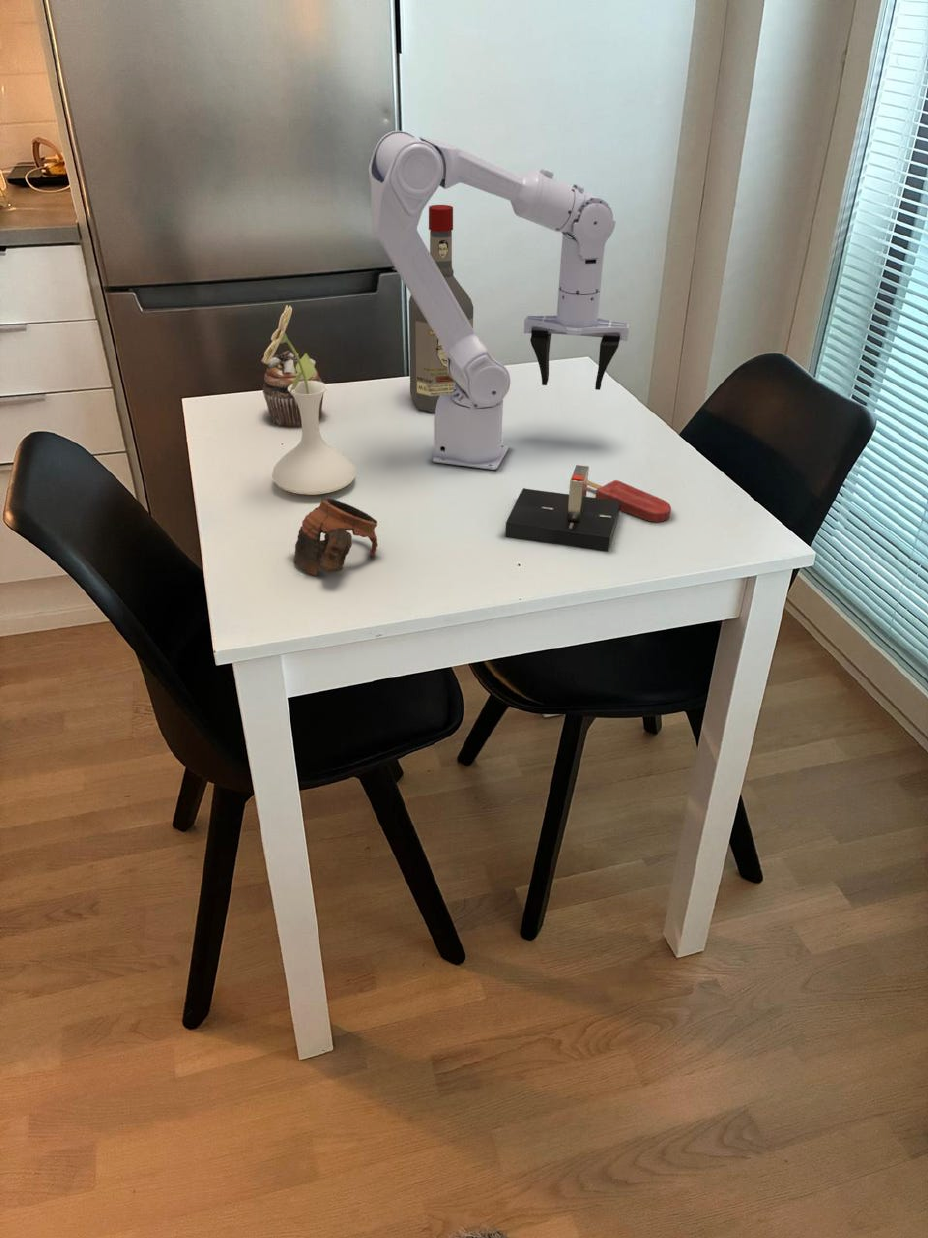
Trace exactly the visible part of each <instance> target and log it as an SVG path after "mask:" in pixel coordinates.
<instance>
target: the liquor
mask: <svg viewBox="0 0 928 1238" xmlns="http://www.w3.org/2000/svg"><path fill="white" fill-rule="evenodd" d="M428 230H429V231H430V232H429V233H430V234H429V244H430V245H429V252H430V254H431V256H432V258H433V260H434V261H435V263H436V265H437V267H438V268H439V270H440V272H441V274H442V275H443V277H444V279H445V281H446V282H447V284H448V286H449V288H450V289H451V291H452V293H453V295H454V296H455V298H456V300H457V302H458V304H459V305H460V307H461V309H462V311H463V312H464V314H465V316H466V318H467V319H468V321H469V323H470V325H471V326H472V328H473V329H474V305H473V301H472V299H471V297H470V296H469V295H468V293H467V292H466V290H465V289H464V288H463V286H462V285H461V283H460V282H459V281H458V280H457V278H456V277H455V276H454V269H453V231H454V206H453V205H448V204H431V205H429V206H428ZM408 343H409V344H408V345H409V347H408V348H409V349H408V350H409V351H408V353H409V393H410V396H411V398H412V400H413V401H414V403H415V405H416V407H417V409H418V410H420V411H423V412H427V413H431V414H432V413H433V414H435V409H436V404H437V401H438V399H439V397H440V395H442V394H452V393H453V389H454V386H455V381H453V379H452V378H451V377H450V375H449V373H448V369H447V359H446V356H445V354H444V352H443V351H442V348H441V343H440V342H439V340H438V338H437V337H436V335H435V333H434V332H433V330H432V328H431V327H430V325H429V323H428V322H427V320H426V318H425V317H424V315H423V313H422V312H421V310H420V308H419V307H418V305H417V303H416V302H415V300H414V298H413V297H412V295H411V294H410V296H409V298H408Z"/></svg>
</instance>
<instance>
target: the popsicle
mask: <svg viewBox="0 0 928 1238" xmlns="http://www.w3.org/2000/svg"><path fill="white" fill-rule="evenodd" d="M587 486H588V487H591V488H594V489H596V490H595V497H594V498H599V499H607V500H614V501H620V510H619V511H621V512H622V513H623V512H624V513H626V514H629V515H631V516H634V517H636V518H638V519H641V520H644V521H647V522H653V523H654V522H655V523H659V522H665V521H667V520H668V519H669V518H670V516H671V510H672V506H671V504H670V503H669V502H667V501H666V500H664V499H662V498H659V497H658V496H655V495H652V494H651V493H648V492H646V491H643V490H641V489H639V488H636V487H635V486H632V485H630V484H627V483H626V482H623V481H620V480H618V479H613V480H612V481H610V482H608V483H606V484H604V485H601V484H599V483H596V482H593V481H591V480H588V482H587Z"/></svg>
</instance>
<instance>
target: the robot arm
mask: <svg viewBox="0 0 928 1238" xmlns="http://www.w3.org/2000/svg"><path fill="white" fill-rule="evenodd" d="M418 138H419V139H417V138H416V137H415V135H412V134H411V133H408V132H407V131H404V130H393V131H390V132H387V133H386V134H385V135H383V136H382V137H381V138H380V139H379V140H378V142H377V144H376V145H375V147H374V150H373V154H372V156H371V160H370V163H369V166H368V169H367V171H368V175H369V181H370V192H371V194H370V196H371V227H372V230H373V233H374V235H375V236H376V238H377V241H378V242H379V243H380V245H381V247H382V248H383V250H384V252H385V254H386V255H387V257H388V259H389V260H390V262H391V263H392V265H393V267H394V269H395V270H396V271H397V273H398V275H399V277H400V278H401V280H402V282H403V283H404V285H405V287H406V289H407V290H408V292H409V293H410V296H411V295H412V297H413V298H414V300H415V302H416V303H417V305H418V307H419V308H420V310H421V312H422V313H423V315H424V317H425V318H426V320H427V322H428V323H429V325H430V327H431V328H432V330H433V332H434V333H435V335H436V337H437V338H438V340H439V342H440V343H441V348H442V351H443V352H444V354H445V356H446V359H447V369H448V373H449V375H450V377H451V378H452V379H453V381H455V386H454V389H453V393H452V394H442V395H440V397H439V399H438V401H437V404H436V409H435V413H434V420H433V421H434V423H433V425H434V426H433V429H434V431H433V433H434V434H433V436H434V437H433V439H434V440H433V441H434V443H433V446H434V447H433V448H434V450H433V451H434V453H433V454H434V455H433V458H432V462H433V463H438V464H445V465H451V466H452V465H453V466H462V467H468V468H476V469H485V470H490V471H491V470H492V471H496V470H497V469H498V468H499V466H500V465H501V463H502V461H503V459H504V458H505V455H506V454H507V453H508V450H509V446H508V445H506V444H502V435H503V412H504V411H503V408H504V398H505V397H506V396H507V394H508V392H509V390H510V387H511V375H510V373H509V370H508V369H507V367H506V366H505V365H504V364H502V363H500V362H499V361H498V360H496V359H495V358H494V357H493V356H492V355H491V353H490V351H489V350H488V348H487V347H486V345H485V344H484V343H483V342H482V340H481V339H480V337H479V336H478V335H477V333H476V332H475V330H474V327H473V328H472V326H471V325H470V323H469V321H468V319H467V318H466V316H465V314H464V312H463V311H462V309H461V307H460V305H459V304H458V302H457V300H456V298H455V296H454V295H453V293H452V291H451V289H450V288H449V286H448V284H447V282H446V281H445V279H444V277H443V275H442V274H441V272H440V270H439V268H438V267H437V265H436V263H435V261H434V260H433V258H432V256H431V254H430V250H429V249H428V247H427V246H426V244H425V241H424V240H423V239H422V236H421V235H420V233H419V231H418V227H419V223H420V220H421V217H422V213H423V212H424V211H423V210H424V209H425V208H426V206H427V205H428V203H429V202H430V201H431V199H432V197H433V196H434V195H435V193H436V191H437V190H438V188H439V187H441V188H442V189H444V190H447V189H449V188H452V187H453V186H456V185H457V184H460V183H461V184H464V185H467V186H470V187H473V188H475V189H477V190H479V191H480V190H481V191H483V192H486V193H488V194H490V195H494V196H496V197H499V198H502V199H505V200H507V201H509V202H510V204H511V207H512V210H513V212H514V214H515V216H517V217H518V218H521V219H524V220H527V221H529V222H531V223H533V224H536V225H539V226H541V227H543V228H546V229H549V230H551V231H553V232H556V233H561V234H562V235H561V236H562V237H561V239H562V240H561V250H560V251H561V252H560V263H559V279H558V289H557V290H558V291H557V292H558V293H557V306H556V315H525V317H524V320H523V334H531V335H530V338H529V341H530V346H531V347H532V349H533V352H534V354H535V357H536V359H537V364H538V366H539V370H540V376H541V385H542V386H548V383H549V379H550V378H549V377H550V352H551V351H550V350H551V341H552V335H565V336H576V337H577V336H578V337H590V338H601V340H600V344H599V355H598V356H599V358H598V369H597V375H596V380H595V387H594V390H597V391H599V390H601V388H602V382H603V379H604V376H605V373H606V370H607V369H608V366H609V364H610V362H611V361H612V359H613V357H614V356H615V354H616V352H617V351H618V348H619V346H620V341H621V342H622V341H623V342H628V339H629V331H630V323H629V322H621V321H615V320H609V319H604V318H599V309H600V300H601V299H600V298H601V290H602V289H601V287H602V278H603V277H602V276H603V267H604V257H605V249H606V244H607V241H608V240H609V239H610V237H611V236H612V234H613V232H614V230H615V228H616V224H617V223H616V222H617V221H616V220H614V218H613V211H612V208H611V207H610V206H609V203H607V201H605V200H604V199H602V198H599V197H598V196H595V195H593V194H591V193H588V192H585V191H584V187H583V186H581V185H579V184H577V183H574V184H573V185H570V184H568V183H565V182H564V181H561V180H559V179H557V178H554V172H552V171H550V170H548V169H546V168H544V167H541V168H540V171H539V170H536V169H530V170H528V171H526V172H523V173H522V174H519V175H517V174H515V173H513V172H511V171H509V170H507V169H505V168H502V167H501V166H498V165H496V164H494V163H492V162H490V161H487V160H486V159H483V158H481V157H479V156H477V155H475V154H472V153H470V152H469V151H466V150H464V149H462V148H460V147H458V146H456V145H453V144H450V143H445V142H443V141H439V140H435V139H431V138H427V137H423V136H418Z"/></svg>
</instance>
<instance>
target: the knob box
mask: <svg viewBox="0 0 928 1238" xmlns="http://www.w3.org/2000/svg"><path fill="white" fill-rule="evenodd" d="M568 501H569V493H563V492H562V493H561V492H553V491H545V490H539V489H531V488H524V487H523V488H522V489H521V491H520V494H519V496H518V497H517V499H516V501H515V503H514V505H513V507H512V509H511V511H510V514H509V515H508V518H507V520H506V521H505V531H504V533H505V535H504V536H505V537H508V538H515V539H521V540H528V541H529V540H530V541H534V542H535V541H536V542H543V543H550V544H557V545H563V546H568V547H569V546H570V547H577V548H583V549H591V550H598V551H605V552H609V550H610V547H611V543H612V539H613V535H614V533H615V530H616V526H617V524H618V523H617V522H618V519H619V515H620V511H621V510H620V501H614V500H607V499H599V498H595V497H591V496H586V502H585V507H584V510H583V513H582V516H581V518H580V521H572V520H567V513H568Z"/></svg>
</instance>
